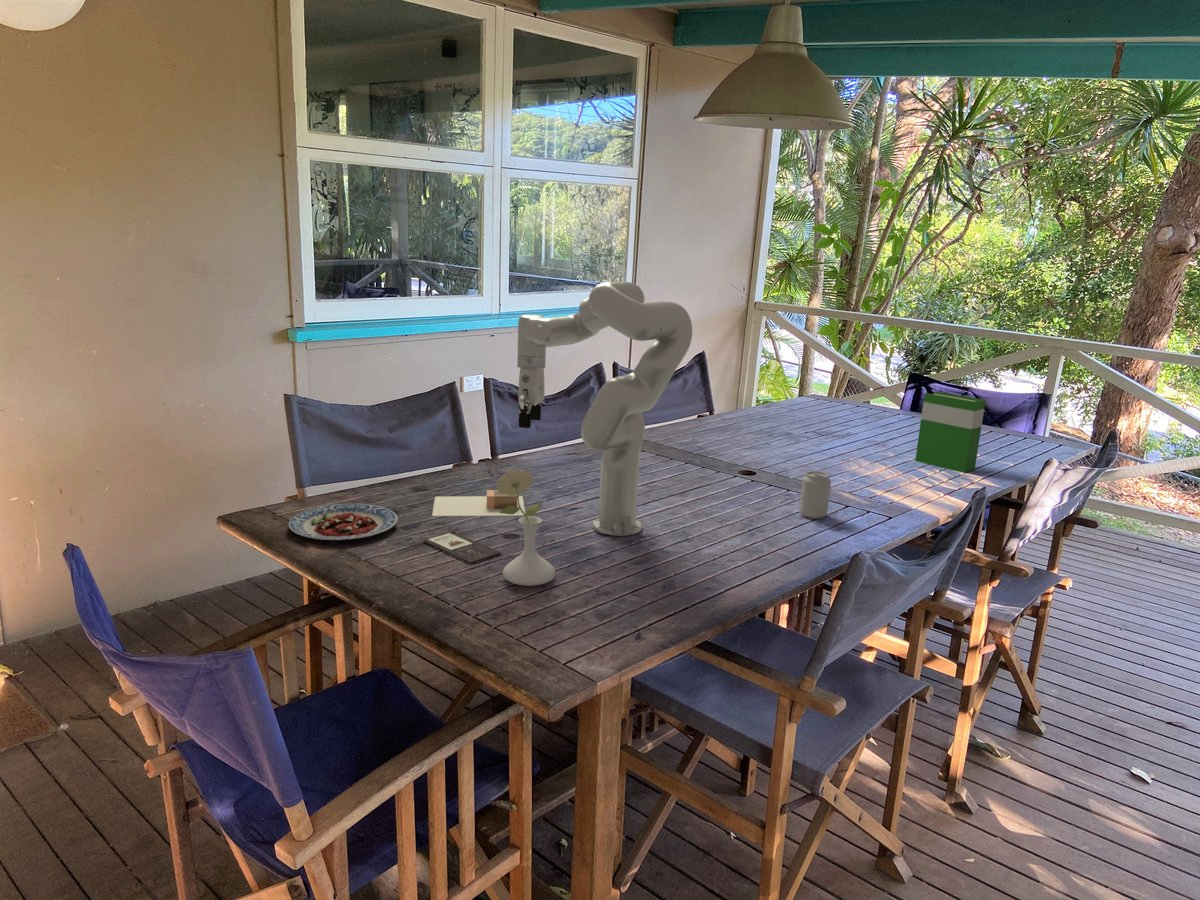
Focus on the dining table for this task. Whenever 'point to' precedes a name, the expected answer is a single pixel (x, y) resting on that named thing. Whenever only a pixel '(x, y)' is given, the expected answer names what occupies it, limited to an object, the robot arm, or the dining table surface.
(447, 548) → the chocolate bar
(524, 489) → the flower in vase
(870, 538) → the dining table surface
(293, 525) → the ceramic plate
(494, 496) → the orange-brown block
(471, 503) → the mat
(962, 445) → the green cereal box
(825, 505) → the can
